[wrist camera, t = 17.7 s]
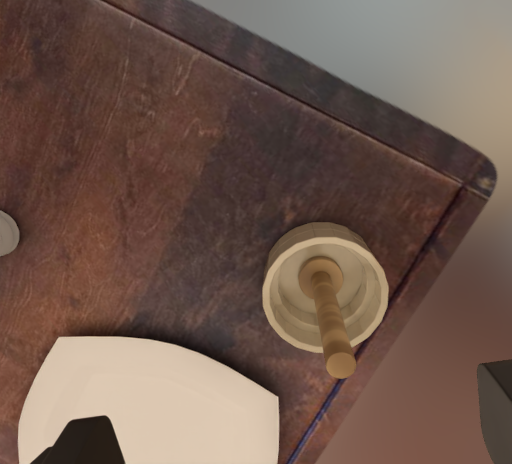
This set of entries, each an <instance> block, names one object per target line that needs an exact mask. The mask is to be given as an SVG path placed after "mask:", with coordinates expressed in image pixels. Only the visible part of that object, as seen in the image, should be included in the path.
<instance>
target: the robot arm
mask: <svg viewBox="0 0 512 464" xmlns="http://www.w3.org/2000/svg"><path fill="white" fill-rule="evenodd" d="M477 379H478V392H479V406H480V419H481V428H482V434H483V438H484V441H485V444H486V447H487V450H488V452H489V455H490V457H491V459H492V461H493V462H494V464H512V359H511V360H503V361H497V362H490V363H482V364H479V365H478V368H477ZM30 464H126V463H125V460H124V457H123V454H122V451H121V449H120V446H119V443H118V440H117V437H116V434H115V431H114V428H113V425H112V423H111V420H110V419H109V418H108V417H107V416H106V415H102V416H94V417H87V418H80V419H73V420H71V421H69V422H68V423H67V425H66V426H65V428H64V429H63V431H62V432H61V434H60V435H59V437H58V439H57V440H56V442H55V443H54V445H53V446H52V447H47V448H46V449H45V450H44V451H43V452H42V453H41V454H40V455H39V456H38V457H37V458H35V459H34V460H33V461H32V462H31V463H30Z"/></svg>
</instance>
